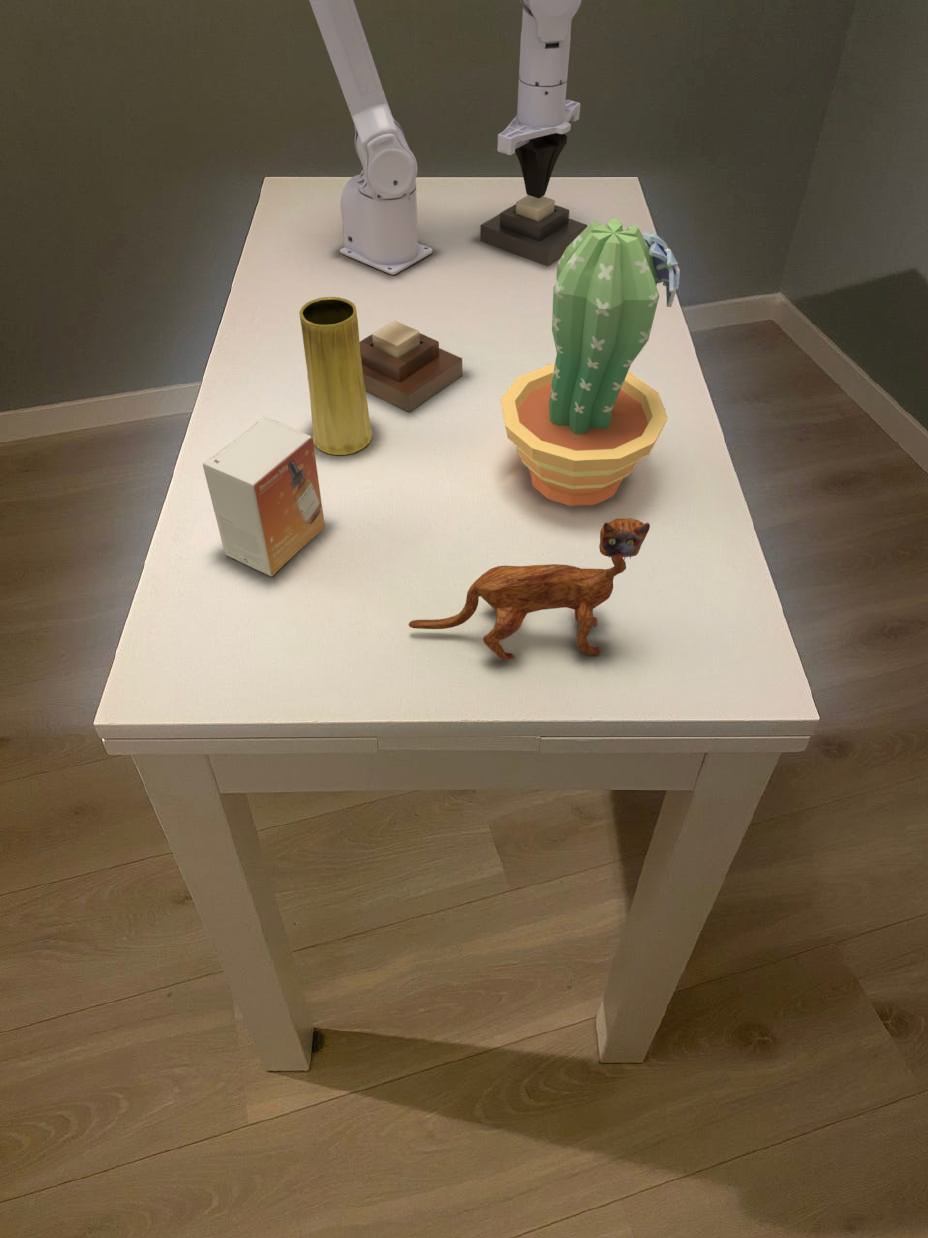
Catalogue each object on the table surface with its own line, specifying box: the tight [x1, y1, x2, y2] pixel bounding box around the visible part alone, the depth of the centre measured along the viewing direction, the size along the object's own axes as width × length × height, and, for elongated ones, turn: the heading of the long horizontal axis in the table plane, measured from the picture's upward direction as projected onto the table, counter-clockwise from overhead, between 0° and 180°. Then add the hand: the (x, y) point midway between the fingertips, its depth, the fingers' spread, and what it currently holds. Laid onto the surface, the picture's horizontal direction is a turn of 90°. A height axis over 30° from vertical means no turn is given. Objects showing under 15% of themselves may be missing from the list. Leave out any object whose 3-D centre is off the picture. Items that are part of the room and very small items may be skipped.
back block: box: [479, 203, 589, 267], centre depth 123 cm, size 11×9×4 cm
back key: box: [515, 195, 556, 222], centre depth 121 cm, size 4×4×2 cm
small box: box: [202, 416, 326, 577], centre depth 82 cm, size 8×6×10 cm
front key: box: [371, 320, 421, 359], centre depth 100 cm, size 4×4×2 cm
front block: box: [359, 325, 463, 414], centre depth 102 cm, size 11×9×4 cm
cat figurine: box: [408, 517, 651, 660], centre depth 73 cm, size 18×7×14 cm, turn 89°
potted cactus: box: [500, 217, 681, 507], centre depth 83 cm, size 15×15×25 cm
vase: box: [299, 296, 373, 456], centre depth 90 cm, size 6×6×14 cm
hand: (535, 194), depth 120 cm, fingers closed
